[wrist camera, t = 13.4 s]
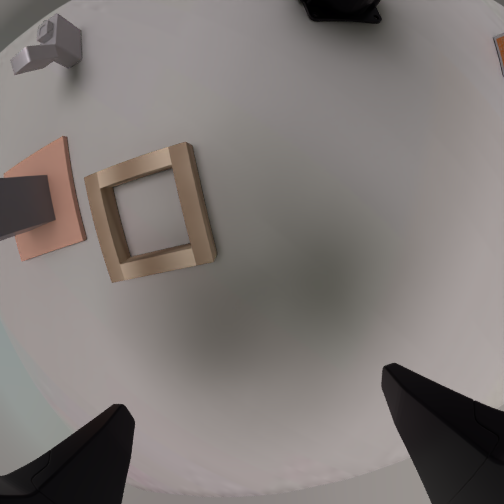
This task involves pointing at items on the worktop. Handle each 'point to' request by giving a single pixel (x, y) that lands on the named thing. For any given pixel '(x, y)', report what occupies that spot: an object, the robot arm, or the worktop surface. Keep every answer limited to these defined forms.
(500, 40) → the skincare box
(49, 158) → the tile
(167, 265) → the wooden square frame
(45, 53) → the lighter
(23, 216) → the dark grey block
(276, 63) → the worktop surface
